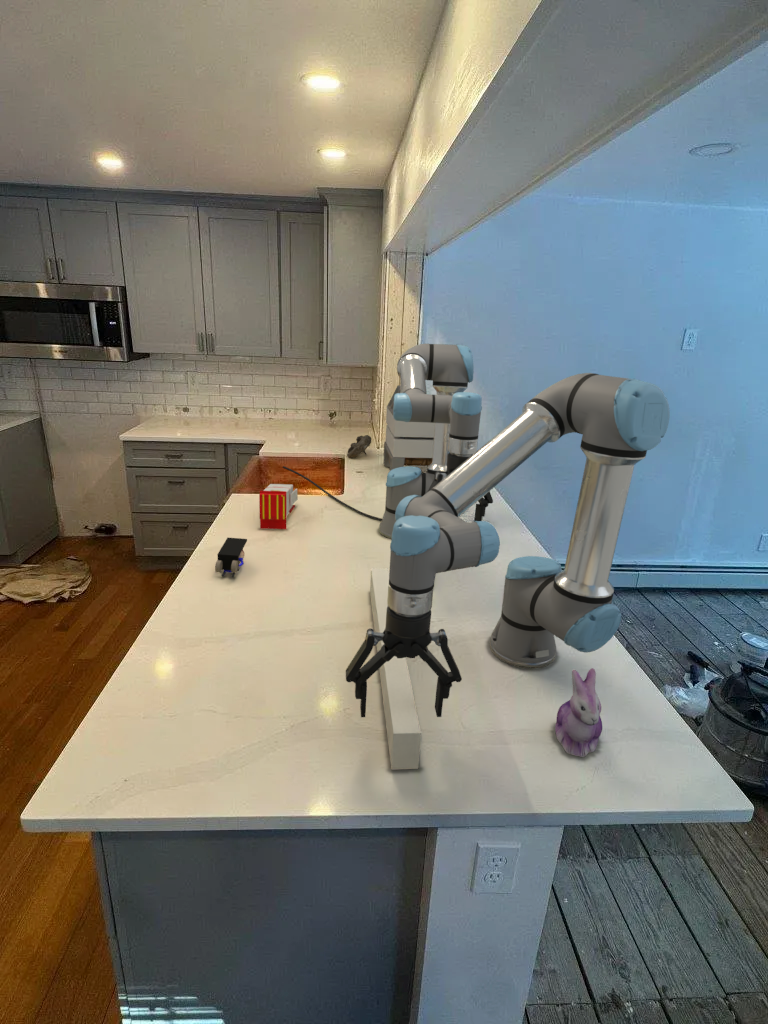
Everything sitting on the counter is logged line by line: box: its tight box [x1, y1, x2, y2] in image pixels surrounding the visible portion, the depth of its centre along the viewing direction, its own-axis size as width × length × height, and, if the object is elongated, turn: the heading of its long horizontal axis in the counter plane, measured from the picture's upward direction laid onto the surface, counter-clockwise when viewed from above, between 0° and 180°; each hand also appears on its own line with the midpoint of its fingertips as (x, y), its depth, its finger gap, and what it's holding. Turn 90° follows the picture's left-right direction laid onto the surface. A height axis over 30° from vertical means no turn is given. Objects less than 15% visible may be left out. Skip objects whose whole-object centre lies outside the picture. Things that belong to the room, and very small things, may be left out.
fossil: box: [347, 434, 372, 459], centre depth 303 cm, size 22×10×15 cm
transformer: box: [383, 384, 435, 472], centre depth 268 cm, size 34×33×41 cm
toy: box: [258, 483, 299, 530], centre depth 210 cm, size 12×13×30 cm
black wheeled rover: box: [214, 537, 248, 578], centre depth 166 cm, size 7×8×15 cm
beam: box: [369, 567, 422, 771], centre depth 127 cm, size 64×5×8 cm, turn 5°
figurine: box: [554, 667, 603, 758], centre depth 104 cm, size 9×10×15 cm
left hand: (455, 529), depth 154 cm, fingers open, 13 cm apart
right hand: (400, 712), depth 102 cm, fingers open, 13 cm apart
